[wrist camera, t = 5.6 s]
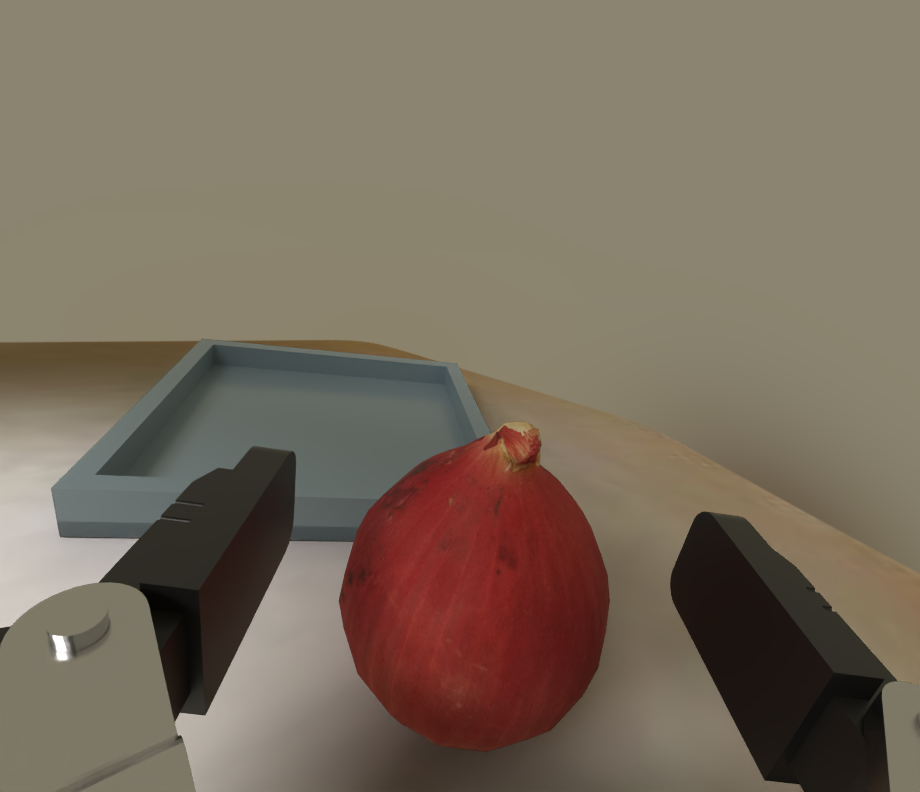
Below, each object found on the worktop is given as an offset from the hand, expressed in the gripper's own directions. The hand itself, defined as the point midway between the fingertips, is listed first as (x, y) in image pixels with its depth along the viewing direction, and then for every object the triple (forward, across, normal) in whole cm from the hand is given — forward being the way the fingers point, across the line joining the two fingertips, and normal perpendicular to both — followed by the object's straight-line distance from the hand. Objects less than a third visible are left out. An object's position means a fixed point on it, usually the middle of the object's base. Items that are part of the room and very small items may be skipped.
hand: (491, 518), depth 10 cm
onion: (0, 0, +6) cm, 6 cm away
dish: (+13, +6, +6) cm, 16 cm away
